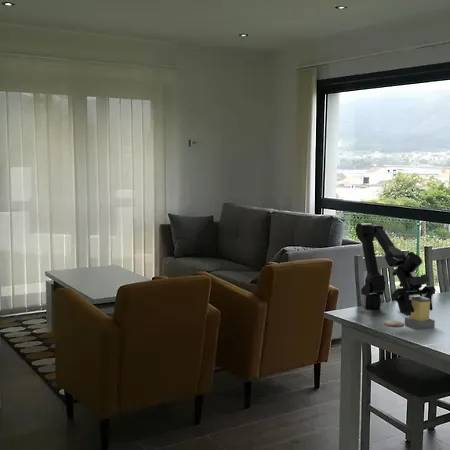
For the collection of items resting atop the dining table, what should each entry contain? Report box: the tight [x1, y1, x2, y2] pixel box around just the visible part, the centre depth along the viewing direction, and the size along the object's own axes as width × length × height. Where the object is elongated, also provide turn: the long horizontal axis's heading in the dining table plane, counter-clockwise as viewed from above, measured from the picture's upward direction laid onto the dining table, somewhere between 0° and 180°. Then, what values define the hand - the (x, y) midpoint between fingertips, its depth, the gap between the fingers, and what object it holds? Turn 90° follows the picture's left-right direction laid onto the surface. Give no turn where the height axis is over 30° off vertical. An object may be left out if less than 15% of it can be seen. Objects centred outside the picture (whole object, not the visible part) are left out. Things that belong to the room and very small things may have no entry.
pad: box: [383, 320, 405, 328], centre depth 246 cm, size 8×8×1 cm
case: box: [404, 316, 436, 330], centre depth 249 cm, size 17×8×4 cm, turn 23°
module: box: [411, 295, 430, 322], centre depth 244 cm, size 5×5×12 cm
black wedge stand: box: [397, 300, 412, 317], centre depth 265 cm, size 12×7×10 cm
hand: (422, 311), depth 243 cm, fingers open, 9 cm apart
